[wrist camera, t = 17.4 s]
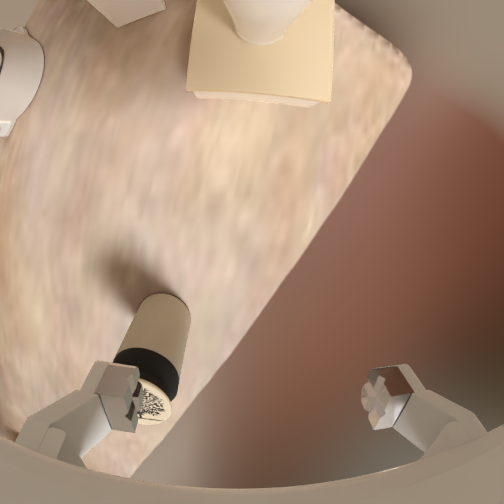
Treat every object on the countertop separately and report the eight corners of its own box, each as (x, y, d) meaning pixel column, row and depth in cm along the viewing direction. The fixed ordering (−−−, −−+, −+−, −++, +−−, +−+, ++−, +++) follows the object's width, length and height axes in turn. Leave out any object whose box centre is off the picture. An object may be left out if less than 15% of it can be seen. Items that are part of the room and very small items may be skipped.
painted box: (195, 100, 34) (185, 89, 26) (206, 3, 29) (201, -26, 21) (311, 110, 35) (330, 102, 28) (316, 13, 30) (334, -11, 23)
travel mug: (140, 287, 42) (97, 368, 25) (193, 297, 43) (175, 386, 26) (139, 331, 44) (104, 416, 28) (188, 341, 45) (172, 432, 29)
